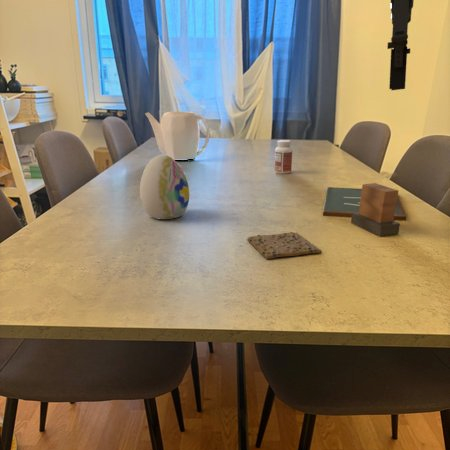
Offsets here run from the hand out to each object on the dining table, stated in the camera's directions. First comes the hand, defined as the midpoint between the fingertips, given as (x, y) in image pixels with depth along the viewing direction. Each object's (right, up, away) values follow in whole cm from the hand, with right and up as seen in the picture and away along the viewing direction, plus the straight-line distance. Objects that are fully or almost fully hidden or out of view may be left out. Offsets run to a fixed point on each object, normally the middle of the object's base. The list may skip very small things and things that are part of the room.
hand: (397, 89), depth 86 cm
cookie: (-22, -31, +4) cm, 38 cm away
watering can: (-54, +18, +100) cm, 115 cm away
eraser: (0, -25, +14) cm, 29 cm away
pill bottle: (-13, +5, +73) cm, 75 cm away
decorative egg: (-50, -21, +25) cm, 59 cm away
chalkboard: (+4, -15, +34) cm, 37 cm away
